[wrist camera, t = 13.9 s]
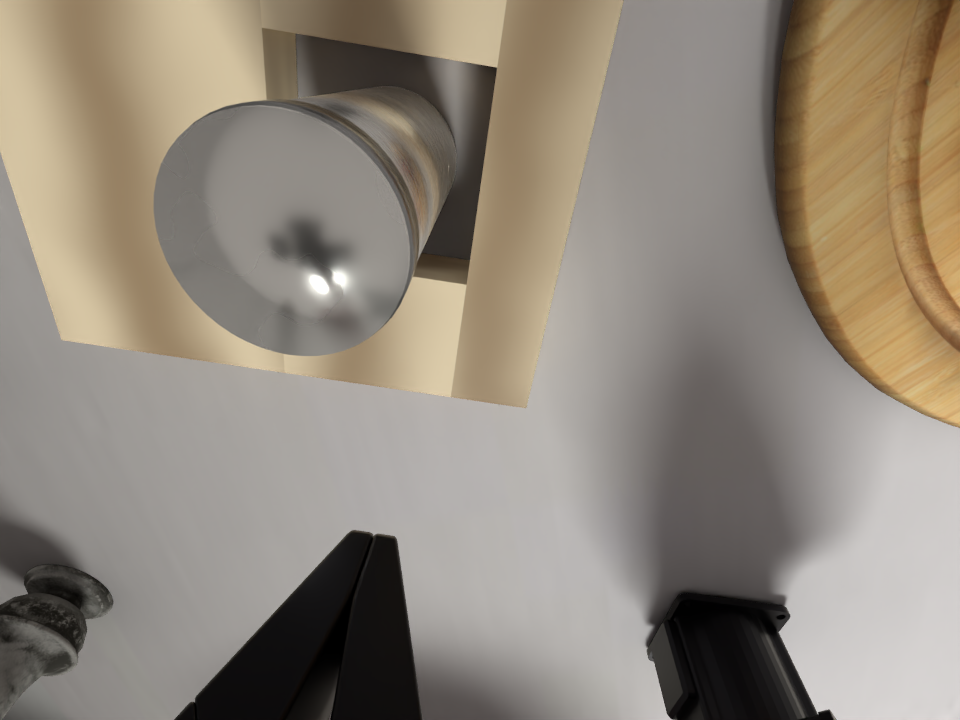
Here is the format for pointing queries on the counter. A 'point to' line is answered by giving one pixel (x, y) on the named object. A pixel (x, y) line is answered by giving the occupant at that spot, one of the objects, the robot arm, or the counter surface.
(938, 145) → the wooden plate with food
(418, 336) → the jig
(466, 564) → the counter surface
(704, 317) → the counter surface
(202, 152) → the grey cylindrical piece
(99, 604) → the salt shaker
